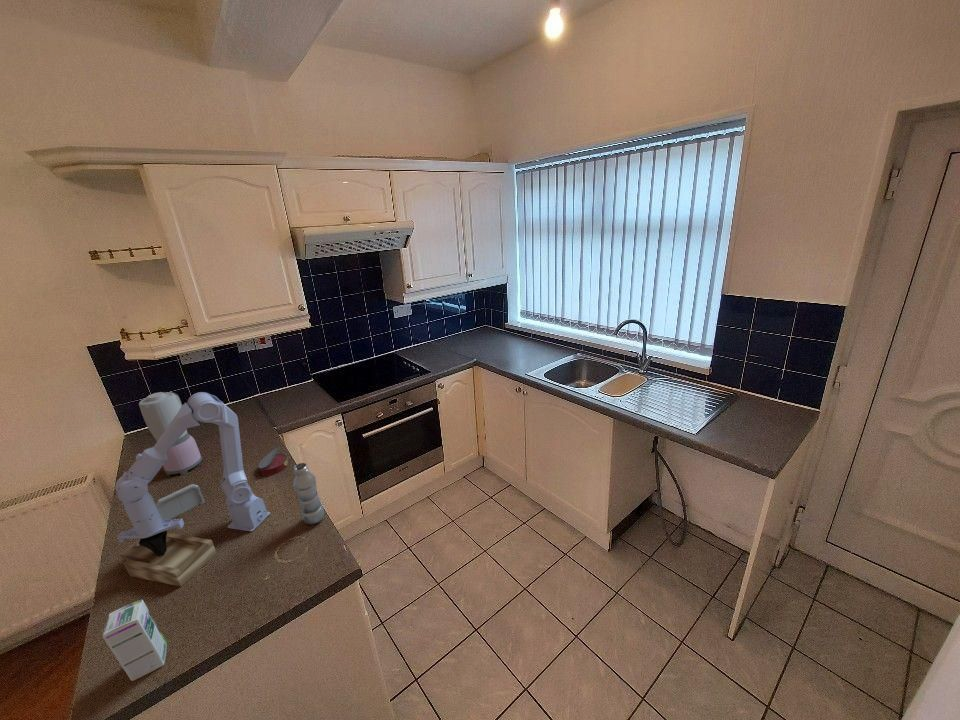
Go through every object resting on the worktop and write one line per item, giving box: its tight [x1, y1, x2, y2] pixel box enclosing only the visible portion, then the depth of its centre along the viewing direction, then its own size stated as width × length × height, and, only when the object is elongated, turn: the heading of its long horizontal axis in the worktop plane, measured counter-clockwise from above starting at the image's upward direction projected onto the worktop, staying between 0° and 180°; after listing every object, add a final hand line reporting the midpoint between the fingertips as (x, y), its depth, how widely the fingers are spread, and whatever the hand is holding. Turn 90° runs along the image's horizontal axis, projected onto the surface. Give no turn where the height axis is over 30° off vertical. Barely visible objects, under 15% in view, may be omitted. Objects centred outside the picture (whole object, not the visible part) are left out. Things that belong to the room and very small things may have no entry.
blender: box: [138, 391, 203, 477], centre depth 150 cm, size 16×12×32 cm
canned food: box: [258, 446, 289, 477], centre depth 148 cm, size 11×10×10 cm
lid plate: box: [119, 537, 174, 563], centre depth 110 cm, size 10×7×2 cm
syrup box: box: [102, 599, 168, 682], centre depth 81 cm, size 6×6×14 cm
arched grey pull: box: [155, 483, 206, 519], centre depth 128 cm, size 2×12×8 cm, turn 140°
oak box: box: [123, 532, 218, 587], centre depth 108 cm, size 18×11×5 cm, turn 76°
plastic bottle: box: [292, 462, 325, 525], centre depth 118 cm, size 6×7×20 cm
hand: (162, 553), depth 108 cm, fingers closed
